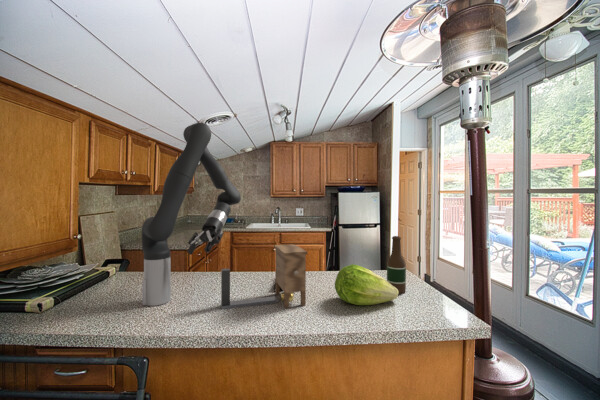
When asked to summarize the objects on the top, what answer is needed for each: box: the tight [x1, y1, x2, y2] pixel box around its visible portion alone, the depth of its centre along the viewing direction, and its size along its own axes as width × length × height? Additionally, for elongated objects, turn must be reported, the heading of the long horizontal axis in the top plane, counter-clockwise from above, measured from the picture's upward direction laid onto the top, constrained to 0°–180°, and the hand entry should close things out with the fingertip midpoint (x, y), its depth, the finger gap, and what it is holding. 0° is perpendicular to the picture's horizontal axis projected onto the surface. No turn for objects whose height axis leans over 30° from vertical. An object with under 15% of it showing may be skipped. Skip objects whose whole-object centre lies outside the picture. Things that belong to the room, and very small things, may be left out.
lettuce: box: [334, 263, 399, 306], centre depth 107 cm, size 15×24×16 cm
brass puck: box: [280, 291, 294, 303], centre depth 109 cm, size 5×5×2 cm
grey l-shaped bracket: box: [220, 268, 279, 310], centre depth 105 cm, size 21×4×14 cm, turn 108°
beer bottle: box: [386, 235, 407, 295], centre depth 119 cm, size 8×8×24 cm
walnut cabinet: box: [273, 243, 308, 309], centre depth 109 cm, size 9×18×20 cm, turn 18°
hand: (197, 252), depth 105 cm, fingers open, 8 cm apart
